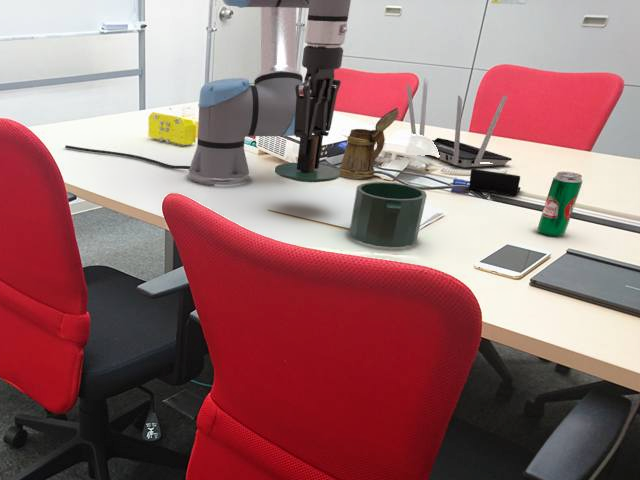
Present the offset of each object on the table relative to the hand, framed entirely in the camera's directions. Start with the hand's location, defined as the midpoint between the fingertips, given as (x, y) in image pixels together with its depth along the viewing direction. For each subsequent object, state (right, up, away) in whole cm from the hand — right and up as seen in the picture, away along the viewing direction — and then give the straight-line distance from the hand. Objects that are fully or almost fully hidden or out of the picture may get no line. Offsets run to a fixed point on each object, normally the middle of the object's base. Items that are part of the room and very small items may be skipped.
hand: (307, 168), depth 137 cm
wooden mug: (+22, +7, +33) cm, 40 cm away
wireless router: (+54, +18, +53) cm, 78 cm away
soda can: (+49, -15, -4) cm, 51 cm away
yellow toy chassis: (-28, +28, +67) cm, 77 cm away
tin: (+13, -16, -9) cm, 22 cm away
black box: (+51, +1, +23) cm, 56 cm away
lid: (0, -1, +1) cm, 1 cm away
